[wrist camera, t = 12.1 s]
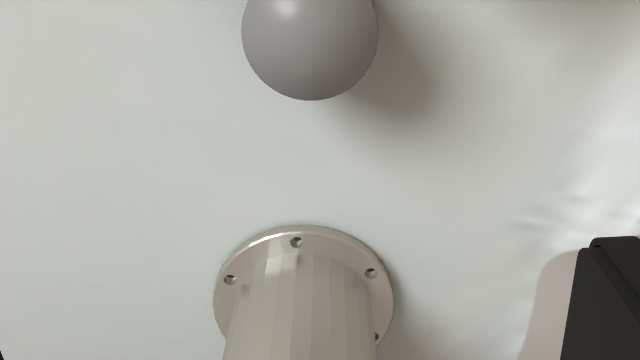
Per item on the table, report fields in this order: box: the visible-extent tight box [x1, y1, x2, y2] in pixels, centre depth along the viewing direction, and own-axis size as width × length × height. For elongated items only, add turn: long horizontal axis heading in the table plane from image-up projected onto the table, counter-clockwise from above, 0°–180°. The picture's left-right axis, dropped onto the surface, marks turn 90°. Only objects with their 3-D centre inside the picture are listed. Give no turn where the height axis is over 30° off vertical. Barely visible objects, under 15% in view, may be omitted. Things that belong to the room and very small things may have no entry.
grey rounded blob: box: [241, 0, 378, 100], centre depth 30 cm, size 6×6×6 cm
